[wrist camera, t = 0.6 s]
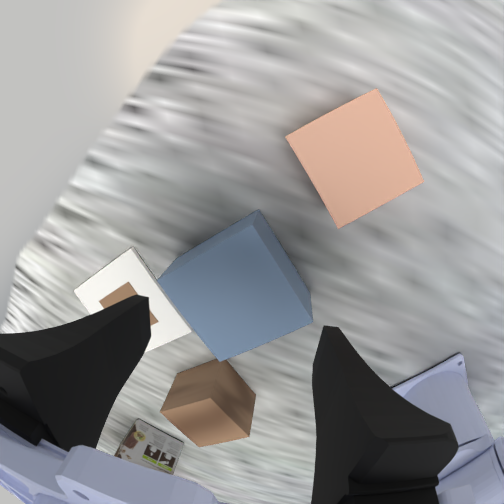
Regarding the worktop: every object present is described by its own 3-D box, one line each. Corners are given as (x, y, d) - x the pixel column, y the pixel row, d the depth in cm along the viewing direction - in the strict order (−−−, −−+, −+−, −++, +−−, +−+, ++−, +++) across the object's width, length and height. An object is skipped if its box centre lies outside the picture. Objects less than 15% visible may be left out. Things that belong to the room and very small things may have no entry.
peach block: (394, 170, 18) (424, 181, 14) (327, 207, 20) (338, 229, 15) (355, 99, 17) (376, 88, 13) (286, 137, 19) (284, 136, 14)
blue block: (310, 291, 22) (313, 322, 19) (229, 329, 24) (219, 361, 20) (259, 208, 21) (252, 224, 17) (177, 257, 23) (156, 280, 19)
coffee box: (136, 416, 30) (80, 529, 15) (186, 442, 31) (146, 559, 16) (118, 442, 33) (73, 534, 18) (160, 465, 34) (125, 559, 19)
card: (193, 328, 24) (191, 332, 24) (129, 357, 26) (127, 360, 26) (133, 246, 22) (130, 248, 22) (76, 288, 25) (73, 291, 24)
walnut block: (256, 394, 26) (249, 436, 22) (210, 408, 28) (199, 447, 23) (223, 355, 25) (210, 397, 20) (177, 372, 26) (159, 411, 22)
